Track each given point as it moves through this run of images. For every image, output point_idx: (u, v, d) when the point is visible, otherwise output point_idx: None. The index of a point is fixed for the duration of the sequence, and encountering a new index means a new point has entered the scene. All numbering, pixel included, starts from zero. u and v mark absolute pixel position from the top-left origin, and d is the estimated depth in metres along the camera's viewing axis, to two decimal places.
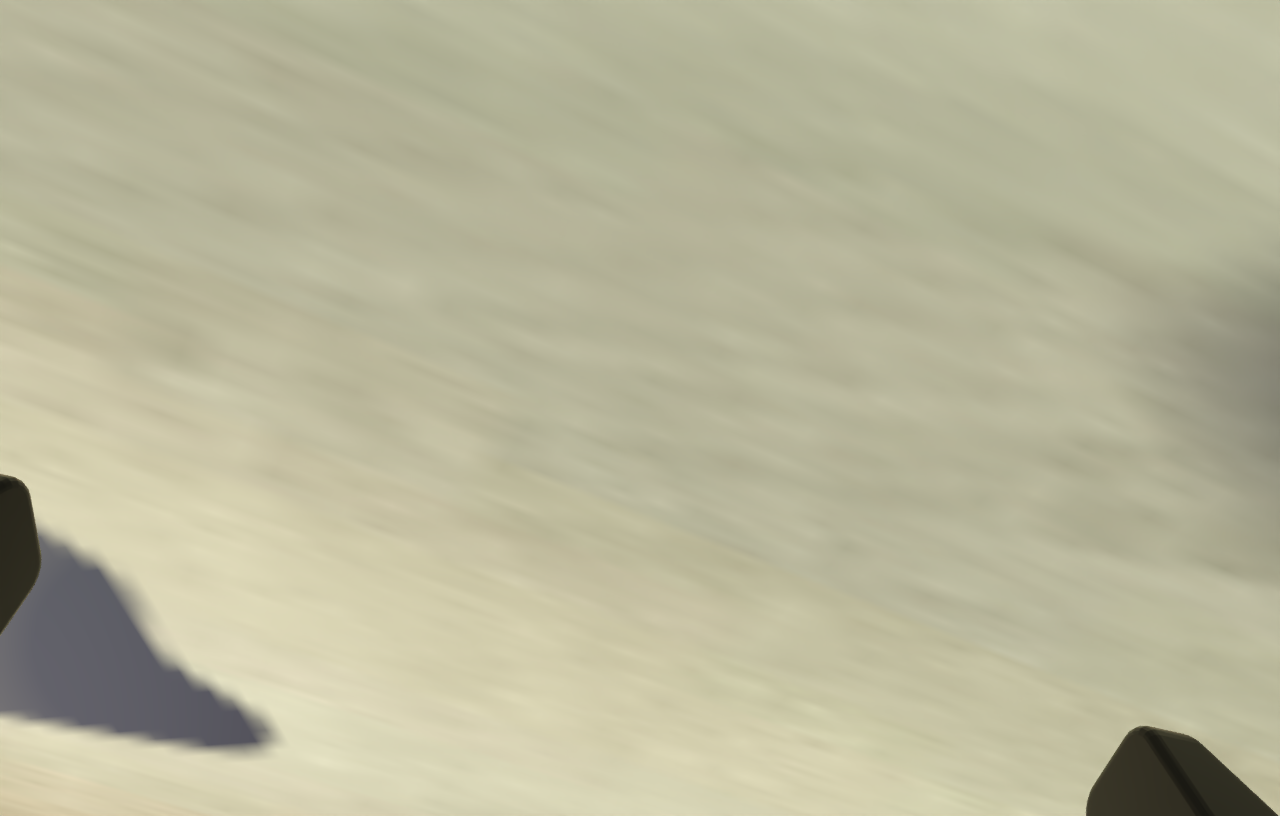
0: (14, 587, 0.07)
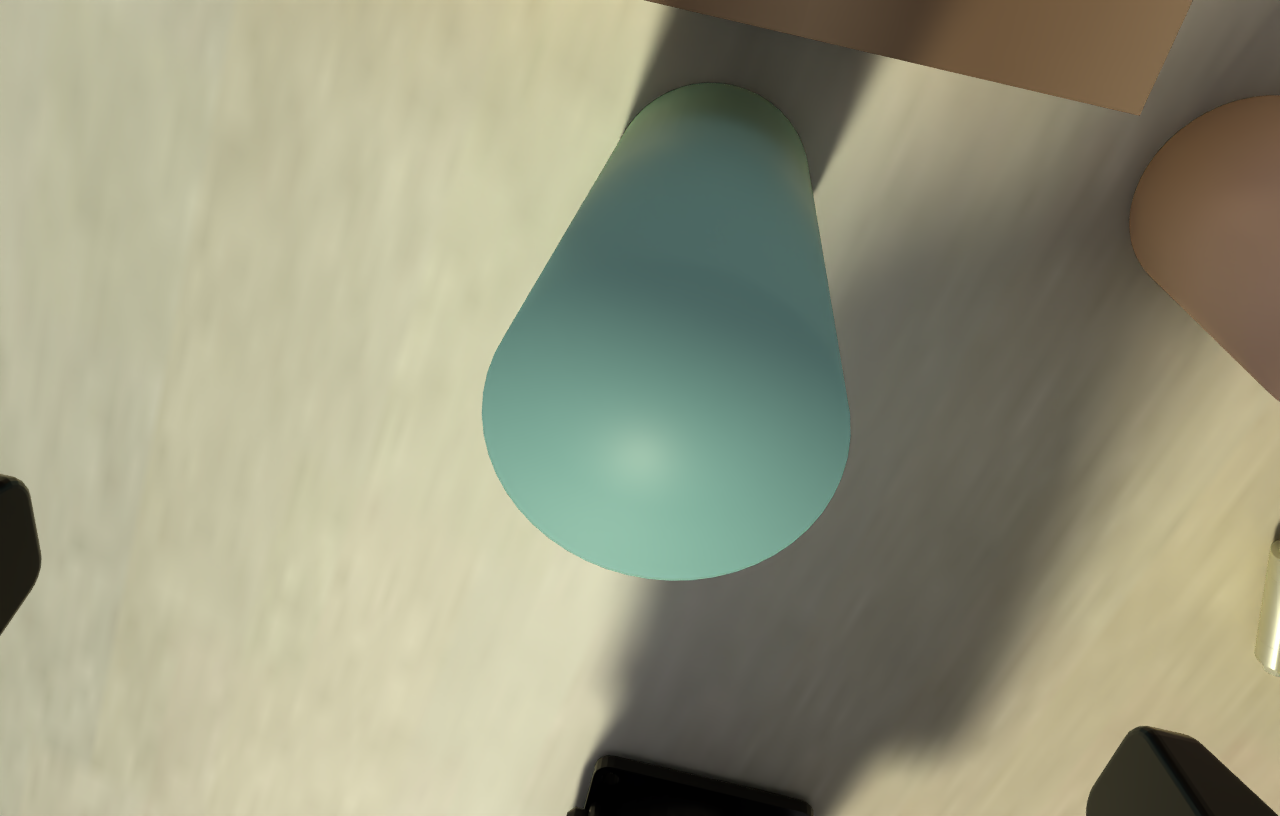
0: (14, 587, 0.07)
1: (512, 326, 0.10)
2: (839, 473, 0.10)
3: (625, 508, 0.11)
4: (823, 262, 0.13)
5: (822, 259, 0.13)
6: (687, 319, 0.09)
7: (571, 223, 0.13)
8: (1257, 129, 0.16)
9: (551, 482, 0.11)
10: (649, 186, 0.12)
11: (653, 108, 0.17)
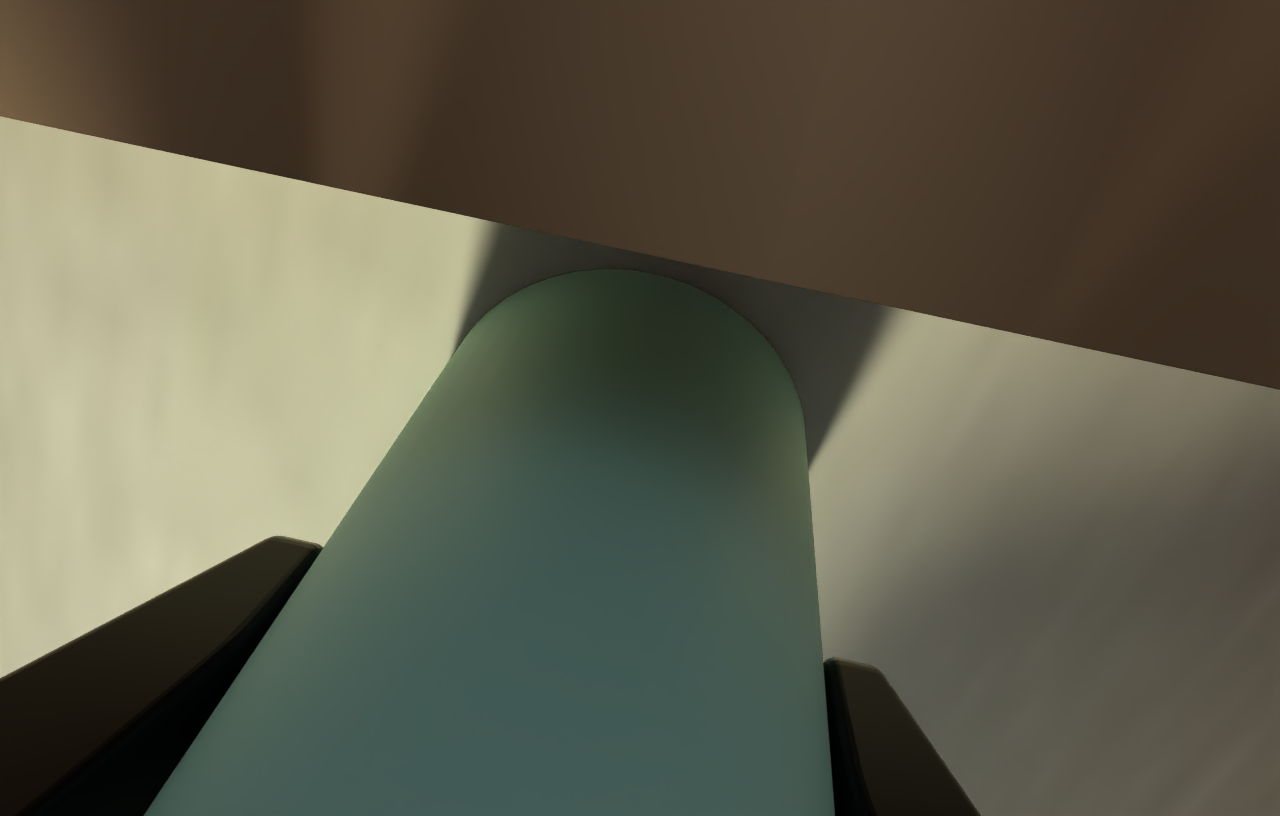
0: None
1: None
2: None
3: None
4: None
5: None
6: None
7: None
8: None
9: None
10: None
11: (485, 339, 0.08)
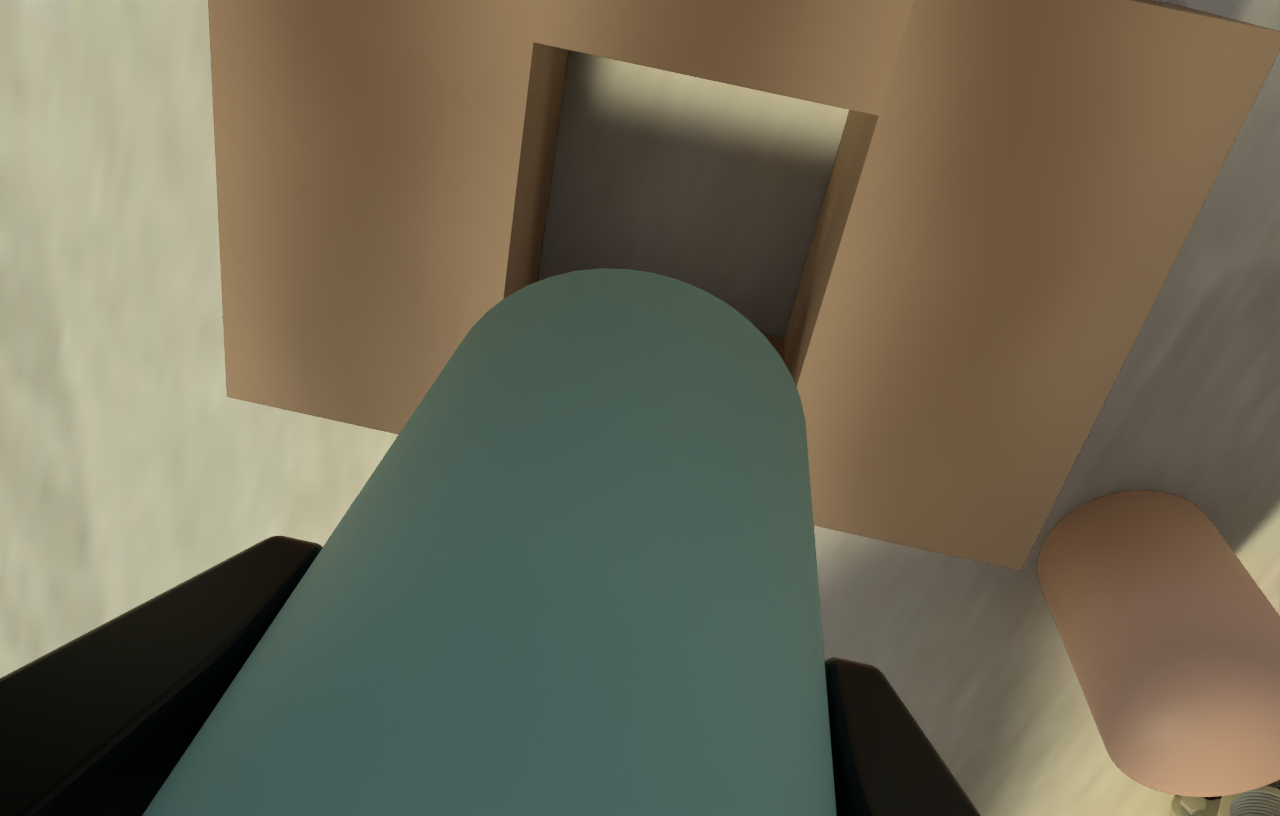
0: None
1: None
2: None
3: None
4: None
5: None
6: None
7: None
8: (1124, 544, 0.20)
9: None
10: None
11: (485, 338, 0.08)
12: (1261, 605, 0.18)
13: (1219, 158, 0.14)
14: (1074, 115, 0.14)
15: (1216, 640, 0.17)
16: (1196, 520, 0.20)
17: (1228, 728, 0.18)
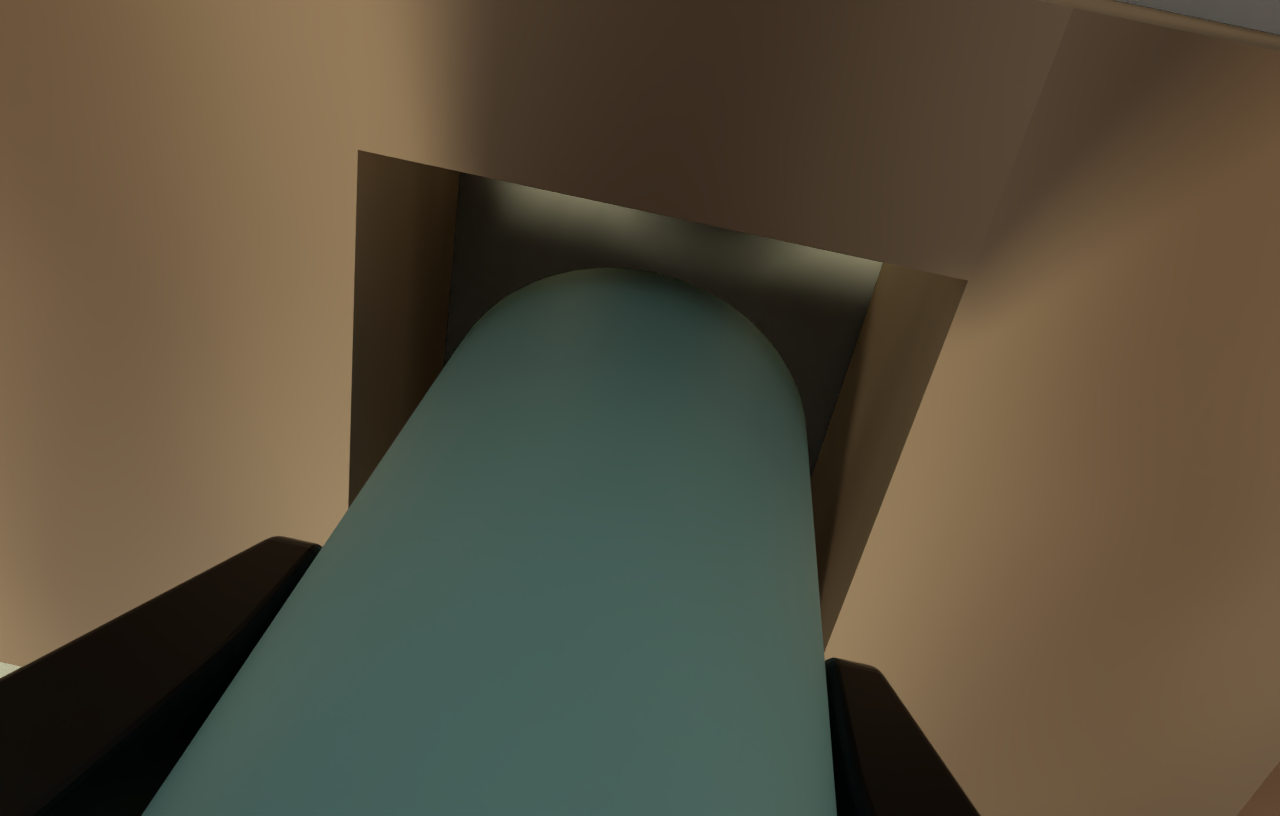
0: None
1: None
2: None
3: None
4: None
5: None
6: None
7: None
8: None
9: None
10: None
11: (485, 337, 0.08)
12: None
13: None
14: None
15: None
16: None
17: None
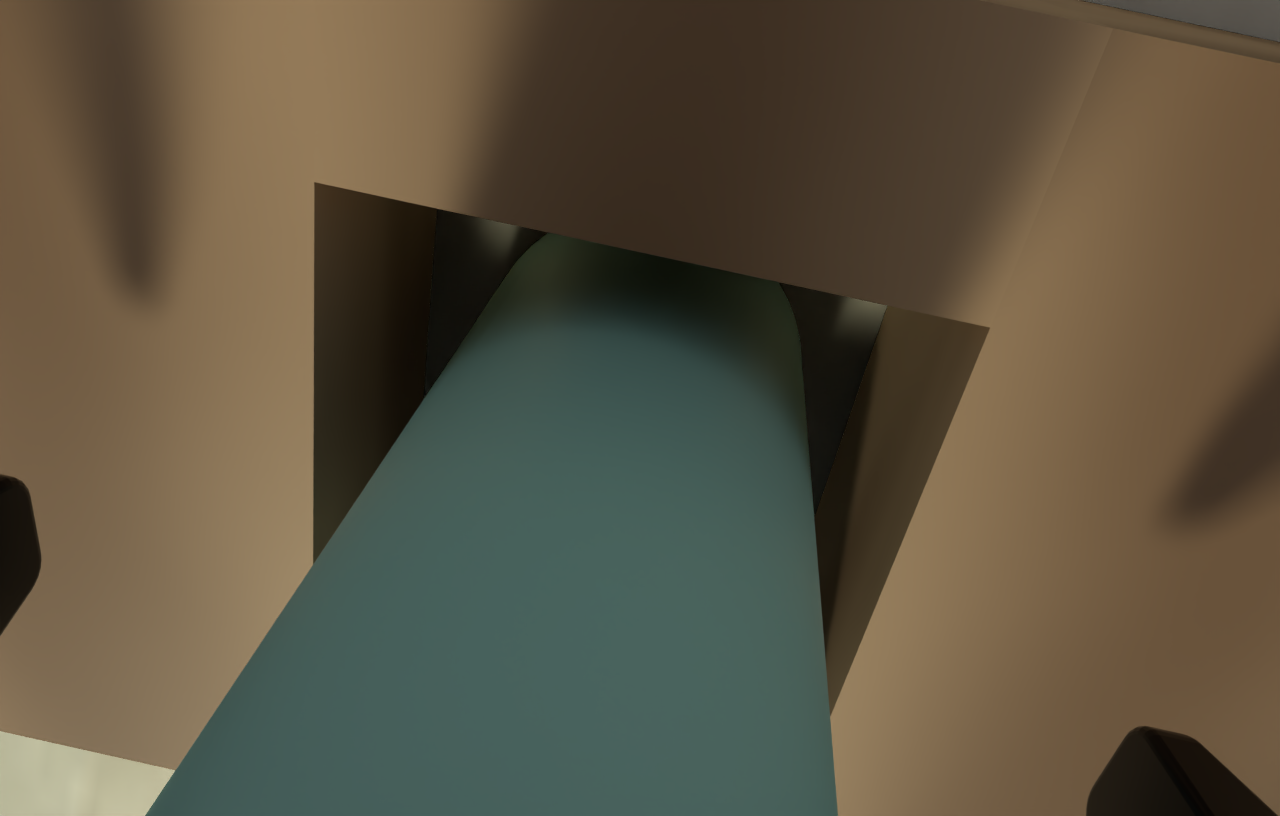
0: (14, 588, 0.07)
1: None
2: None
3: None
4: (821, 709, 0.06)
5: (819, 702, 0.06)
6: None
7: (263, 639, 0.06)
8: None
9: None
10: (380, 645, 0.05)
11: (534, 261, 0.10)
12: None
13: None
14: None
15: None
16: None
17: None
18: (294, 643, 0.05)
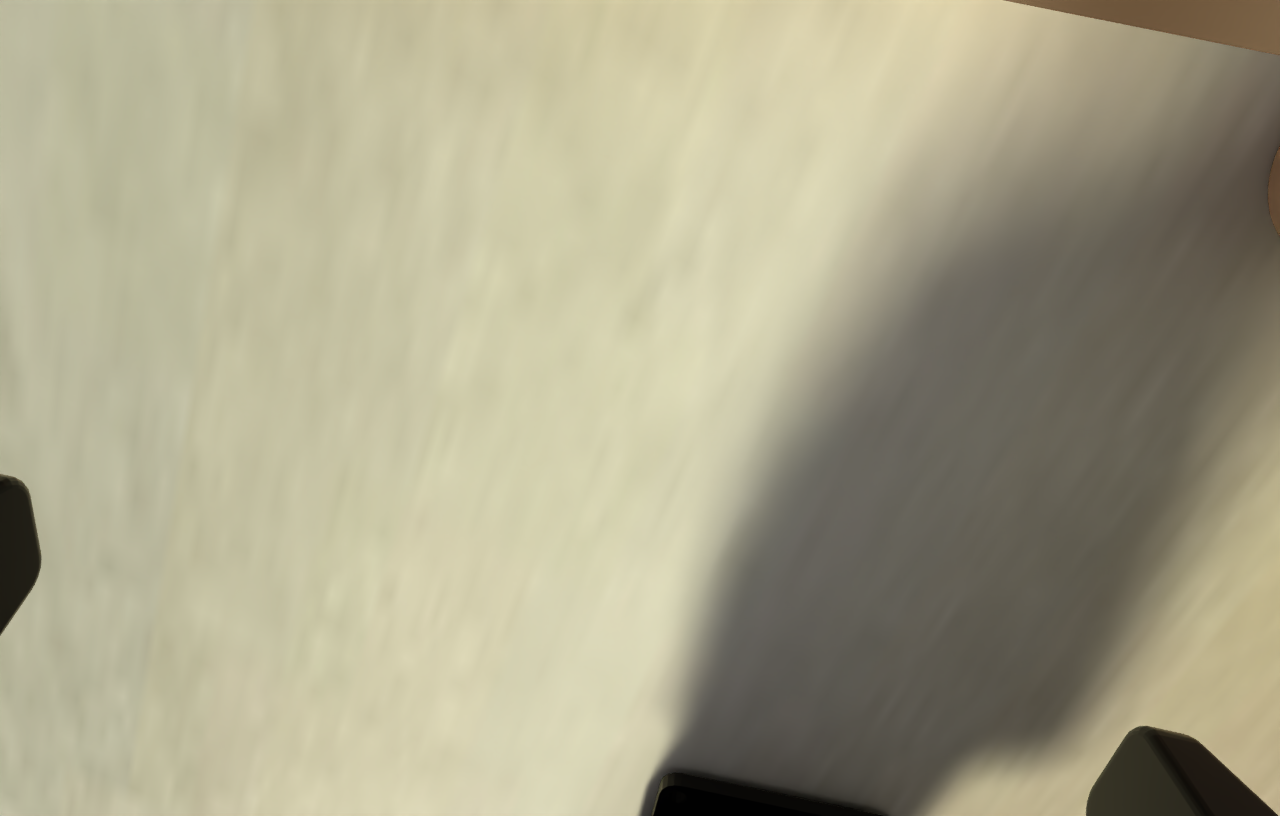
0: (14, 587, 0.07)
1: None
2: None
3: None
4: None
5: None
6: None
7: None
8: None
9: None
10: None
11: None
12: None
13: None
14: None
15: None
16: None
17: None
18: None
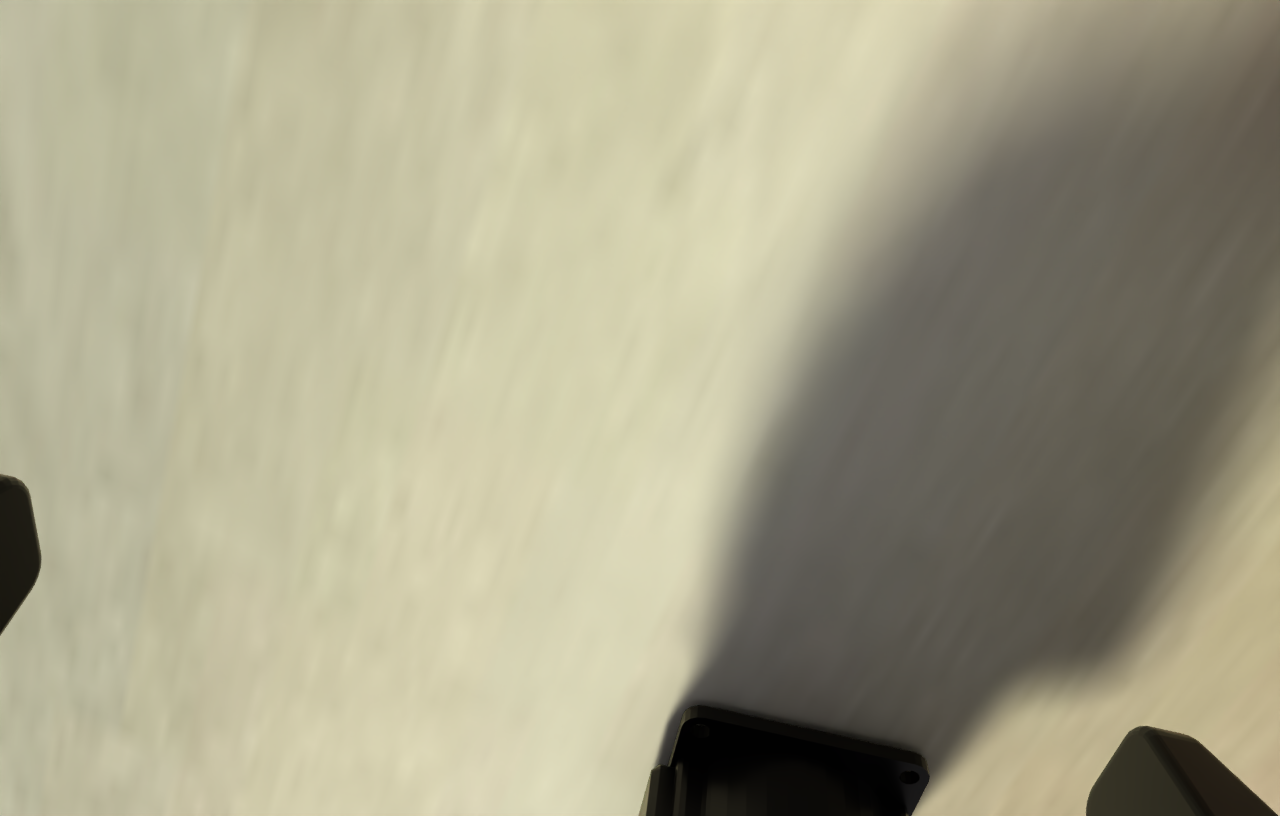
0: (14, 587, 0.07)
1: None
2: None
3: None
4: None
5: None
6: None
7: None
8: None
9: None
10: None
11: None
12: None
13: None
14: None
15: None
16: None
17: None
18: None
